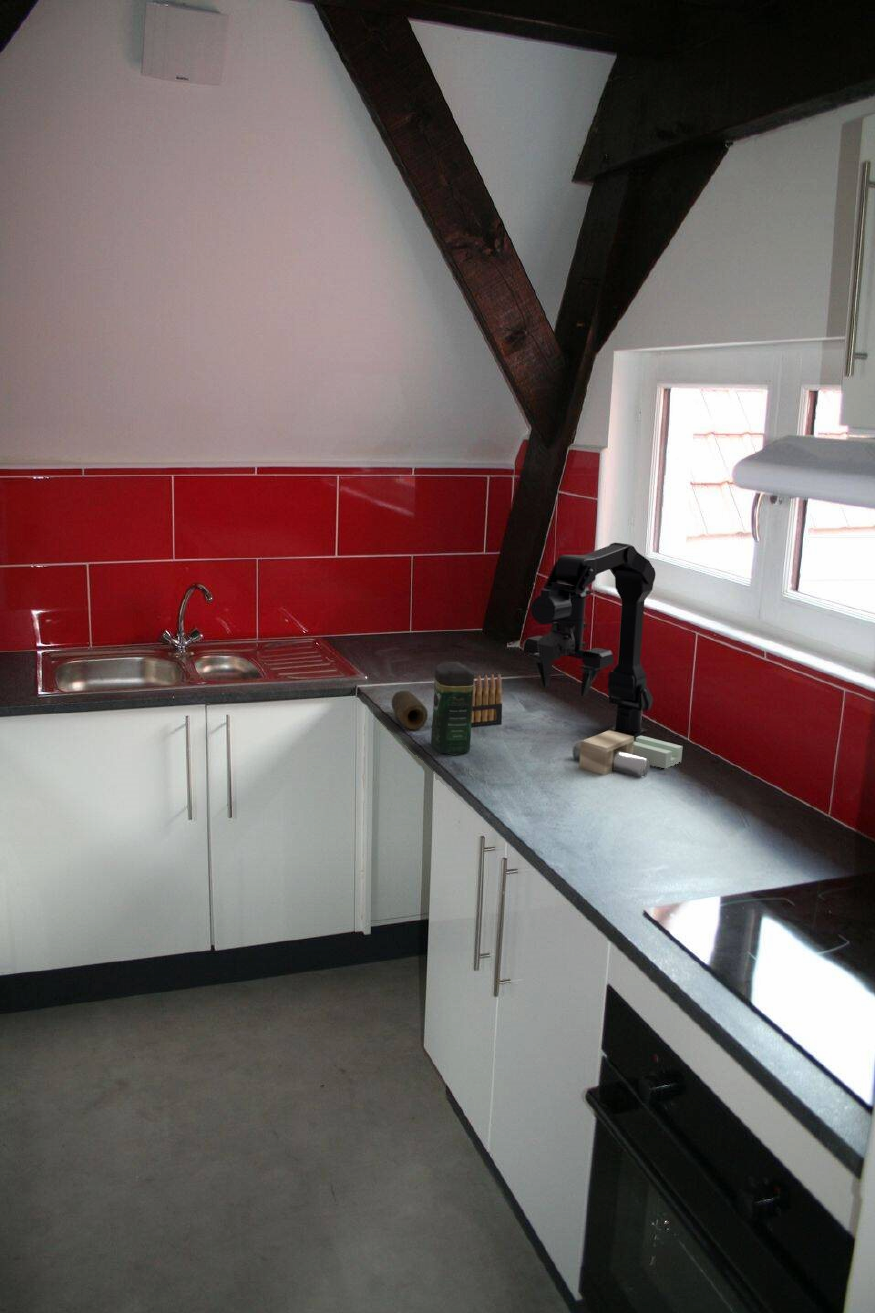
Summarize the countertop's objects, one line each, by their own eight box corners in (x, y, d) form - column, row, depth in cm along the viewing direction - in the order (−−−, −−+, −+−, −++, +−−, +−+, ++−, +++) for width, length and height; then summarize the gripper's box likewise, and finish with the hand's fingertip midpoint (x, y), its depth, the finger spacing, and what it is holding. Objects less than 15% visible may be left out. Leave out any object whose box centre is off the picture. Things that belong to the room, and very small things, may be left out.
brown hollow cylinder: (432, 731, 246) (434, 703, 245) (402, 733, 244) (403, 704, 243) (414, 712, 260) (415, 685, 259) (386, 713, 258) (387, 686, 257)
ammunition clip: (497, 722, 255) (500, 672, 253) (501, 724, 254) (505, 674, 251) (457, 726, 251) (459, 675, 248) (461, 729, 249) (463, 677, 246)
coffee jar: (474, 755, 231) (479, 669, 227) (437, 756, 229) (441, 670, 225) (463, 741, 240) (467, 658, 236) (427, 742, 239) (431, 658, 234)
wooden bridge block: (607, 756, 235) (609, 730, 233) (631, 763, 231) (634, 736, 230) (579, 767, 227) (581, 741, 225) (604, 775, 223) (606, 748, 221)
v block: (639, 750, 239) (640, 735, 239) (681, 762, 233) (682, 746, 232) (622, 757, 234) (624, 742, 233) (665, 769, 228) (666, 753, 227)
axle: (572, 760, 232) (573, 742, 231) (582, 756, 235) (583, 738, 234) (638, 779, 222) (640, 761, 221) (648, 775, 225) (650, 756, 224)
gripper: (509, 615, 224) (505, 689, 228) (587, 631, 213) (581, 708, 216) (540, 608, 232) (535, 680, 236) (617, 623, 221) (611, 698, 225)
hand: (564, 691), depth 228 cm, fingers open, 9 cm apart
